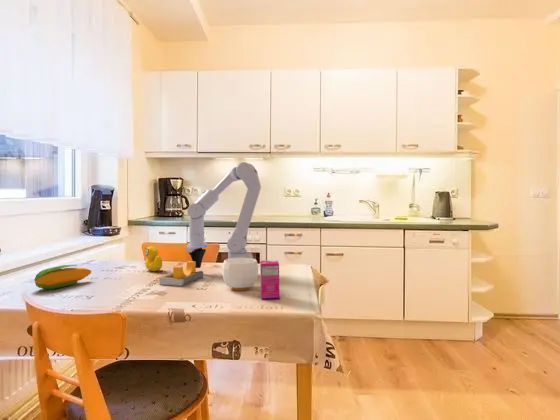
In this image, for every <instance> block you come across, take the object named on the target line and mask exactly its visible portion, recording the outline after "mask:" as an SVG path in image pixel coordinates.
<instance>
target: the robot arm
mask: <svg viewBox="0 0 560 420" xmlns="http://www.w3.org/2000/svg"><path fill="white" fill-rule="evenodd" d="M237 181H242V182H243V183H244V185H245V186H246V188H247V189H246V190H247V191H246V193H245V195H244V196H245V197H244V199H243V203H242V206H241V209H240V213H239V215H238V219H237V222H236V225H235V228H234V230H233V232H232V235H231V236H230V238H228V240H227V243H226V247H227V249H228V254H227V256H228V257H227V259H230V258H252V259H254V255H253V253H252V252H248V251H247V249H246V247H247V245H248V239H247V238H248V237H247V236H248V232H249V228H250V224H251V221H252V218H253V214H254V212H255V208H256V205H257V202H258V198H259V195H260V192H261V189H262V186H261V181H260V179H259V173H258V170H257V169H256V168H255V166H254V165H253V164H252V163H248V162H246V161H245V162H244V161H242V162H239V163H238V164H237V165H236V166H235V167H233V168H232V169H231V170H230V171H229V172H228V173H226V175H225V176H224V177H222V179H221V180H220V181H219V182H218V184H217V185H215V186H214V187H213V188H212V189H211V188H210V189H206V190H203V191H202V195H201V196H200V197H198V198H196V199H195V200H194V203H190V204H189V206H188V207H187V210H186V213H187V215H188V216H189V223H188V224H189V227H188V228H189V231H188V232H189V243H188V244H187V245H186V246H185V253H188V254H189V256H190V258H191V261H196V269H200V268H202V267H201V266H202V262H203V258H204V255H205V254H206V251H207V250H206V249H205V248H208V242H206V241H205V218H204V217H205V215H206V212H208V211H209V209H211V208H212V207H213V205H215V204H216V203H217V202H218V201H219V195H221V193H223V192H224V191H225V190H226V189H227V188H229V186H230V185H231V184H233V183H234V182H237Z"/></svg>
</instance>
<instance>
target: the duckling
mask: <svg viewBox="0 0 560 420" xmlns="http://www.w3.org/2000/svg"><path fill="white" fill-rule="evenodd" d="M144 254H145V256H146V259H145V261H144V264H145V268H146V269H147V270H148V271H150V272H157V271H160V270H161V269H162V267H163V259H162V257H161V256H159V255H158V254H159V251H158V248H157V247H156V246H151V245H150V246H147V247H145V248H144Z"/></svg>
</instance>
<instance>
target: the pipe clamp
mask: <svg viewBox="0 0 560 420" xmlns="http://www.w3.org/2000/svg"><path fill="white" fill-rule="evenodd" d="M172 269H173V270H172V273H173V278H180V279H181V278H183V277H185V276H188V275H190V274H192V273H195V272H197V270H196V269H197V268H196V261H192V260H188V261H186V268H183V265H182V266H180V265H179V266H178V265H175V266H173V268H172Z"/></svg>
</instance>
